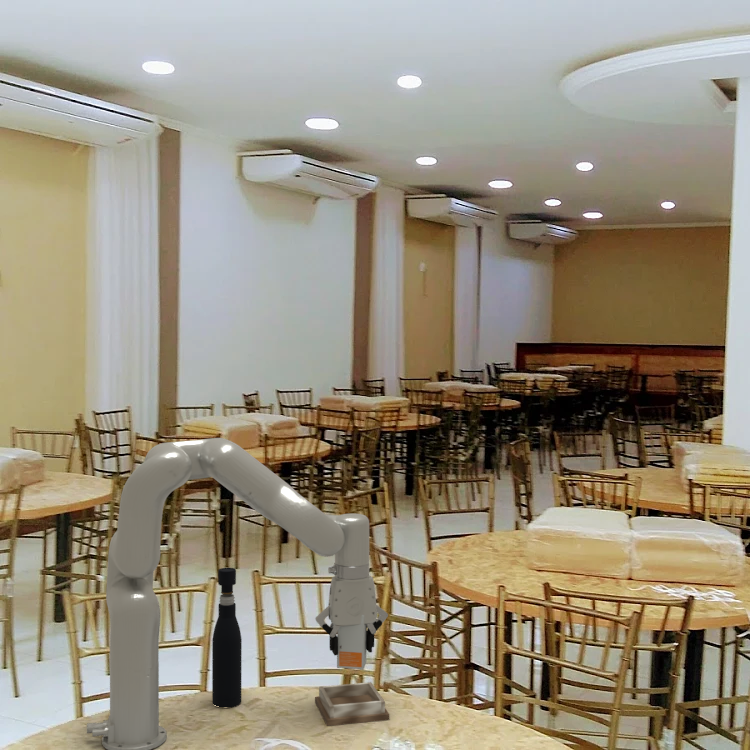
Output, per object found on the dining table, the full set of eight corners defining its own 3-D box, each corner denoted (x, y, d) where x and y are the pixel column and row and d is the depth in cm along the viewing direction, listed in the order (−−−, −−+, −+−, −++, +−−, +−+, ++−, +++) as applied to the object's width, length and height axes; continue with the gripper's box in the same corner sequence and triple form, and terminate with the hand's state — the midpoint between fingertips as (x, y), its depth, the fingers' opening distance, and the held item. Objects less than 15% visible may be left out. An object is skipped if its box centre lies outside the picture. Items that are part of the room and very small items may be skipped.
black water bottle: (235, 709, 205) (235, 573, 204) (207, 706, 206) (208, 572, 205) (245, 698, 211) (245, 566, 210) (218, 696, 212) (218, 565, 211)
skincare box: (336, 668, 202) (336, 614, 202) (340, 662, 207) (340, 608, 206) (364, 670, 202) (364, 615, 201) (367, 663, 206) (367, 609, 205)
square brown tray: (327, 725, 196) (327, 708, 196) (314, 702, 209) (314, 685, 209) (389, 719, 199) (389, 702, 199) (373, 696, 213) (373, 680, 212)
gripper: (316, 577, 198) (316, 660, 198) (395, 572, 202) (394, 654, 203) (309, 569, 205) (309, 649, 205) (386, 565, 209) (385, 643, 210)
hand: (351, 651), depth 204 cm, fingers closed on skincare box, 7 cm apart
